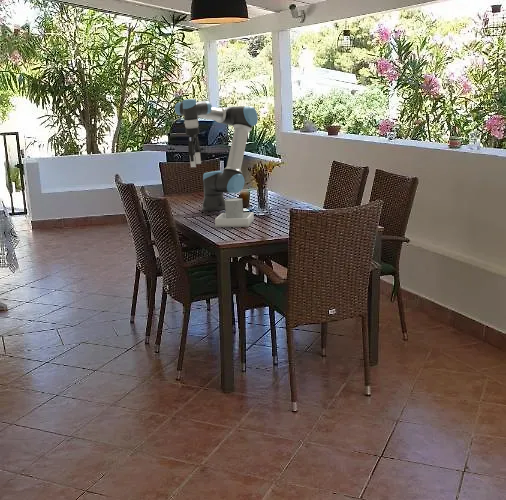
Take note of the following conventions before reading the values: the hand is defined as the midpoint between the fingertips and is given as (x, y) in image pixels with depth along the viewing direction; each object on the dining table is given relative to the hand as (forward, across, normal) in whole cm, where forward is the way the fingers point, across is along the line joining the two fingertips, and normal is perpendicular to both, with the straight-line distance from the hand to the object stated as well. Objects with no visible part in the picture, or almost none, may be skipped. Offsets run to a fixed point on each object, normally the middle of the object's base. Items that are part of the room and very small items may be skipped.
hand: (196, 165), depth 398 cm
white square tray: (+31, +18, +22) cm, 42 cm away
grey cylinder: (+30, +18, +22) cm, 41 cm away
